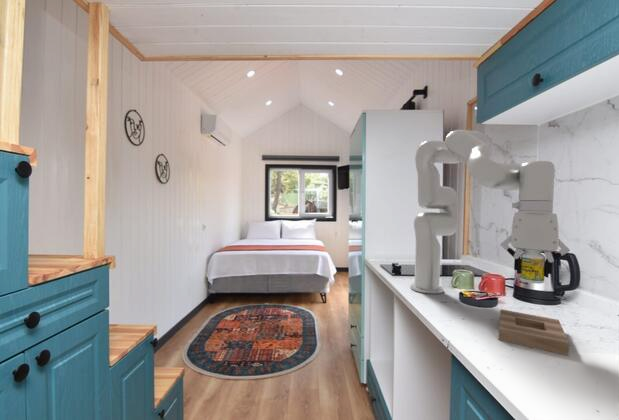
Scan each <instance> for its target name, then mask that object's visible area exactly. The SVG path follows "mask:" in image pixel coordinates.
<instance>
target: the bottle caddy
mask: <svg viewBox="0 0 619 420" xmlns="http://www.w3.org/2000/svg"><path fill="white" fill-rule="evenodd" d="M498 322H499V323H498V340H499V341H502V342H506V341H507V342H508V343H511V342H512V344H515V343H516V345H520V346H524V345H525V346H524V347H528V348H533V347H534V349H537V348H538V350H543V351H547V352H552V353H556V354H560V355H565V356H569V353H570V352H569V351H570V350H569V348H570V342H569V340H568V337H567V336H566V335H567V334H566V332H565V331H564V328H563V327H562V324H561V322H560V320H559V319H556V318H551V317H545V316H540V315H534V314H528V313H525V312H519V311H512V310H507V309H500V313H499V321H498Z"/></svg>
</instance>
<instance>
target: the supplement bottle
mask: <svg viewBox="0 0 619 420" xmlns="http://www.w3.org/2000/svg"><path fill="white" fill-rule="evenodd" d="M523 251H524V252H521V254H520V259H521V269H520V274H519V280H520V281H522V282H525V283H529V284H539V285H540V284H544V283H545V278H546V277H545V261H546V255H545V254H542V252H543V251H536V250H524V249H523Z"/></svg>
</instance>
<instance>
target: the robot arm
mask: <svg viewBox="0 0 619 420" xmlns="http://www.w3.org/2000/svg"><path fill="white" fill-rule="evenodd" d="M492 149H493V148H492V147H491V145H490V144H489V141H488V137H487V135H486V134H484V133H483V132H480V131H477V130H469V129H468V130H467V129H455V130H452V131H450V132H449V133H448V134H447V135H446V136H445V139H444V140H426V141H424V142H422V143H421V144H420V145H419V146H418V148H417V149H416V152H415V155H414V156H415V157H414V159H415V160H414V161H415V167H416V172H417V173H416V175H417V203H418V206H419V207H421V208H422V209H426V210H427V209H428V210H439V212H437V211H435V212H432V211H429V212H428V211H427V212H421V213H419V214H417V215H416V216H415V217H414V220H413V227H414V228H413V229H414V234H415V258H414V259H415V260H414V282H413V283H411V284H410V286H409V288H410V289H411V290H413V291H415V292H418V293H424V294H432V295H434V294H435V295H436V294H437V295H438V294H442V293H443V292H444V288H443V287H442V286H441V285H440V278H441V277H440V276H441V275H440V273H441V249H442V248H441V244H440V241H439V240H438V238H437V237H440V236H441V237H442V236H443V237H445V236H446V237H447V236H452V235H454V234H455V233H456V232H457V230H458V227H459V199H458V198H459V197H458V194H457V191H456V190H455V189H454V188H453V187H452V186H451V187H449V186H443V185H442V186H441V175H440V172H439V169H438V168H437V167H436V165H435V163H436V164H438V163H440V164H448V165H449V164H450V165H453V164H454V165H456V164H459V163H462V162H464V163H465V164H466V167H467V168H466V169H467V172H468V174H469V176H471V178H472V179H474V180H475V181H476V182H478V183H479V184H480V185H482V186H483V187H486V188H488V189H491V190H506V191H518V201H517V202H512V203H511V207H512V209H517V211H516V212H514V215H513V217H512V225H511V234H510V235H509V236H508V237H507V238H506V239H504V240H503V241H502V242H501V243H500V246H501V247H502V249H504V250H505V251H507V253H509V255H511V256H512V258H513V259H514V263H513V265H514V266H513V270H514V271H516V274H517V275H520V269H521V254H522V253H523V251H524V250H536V251H542V252H544V256H545V278H549V275H552V274H553V273H552V271H553V263H554V261H557V260H558V259H560V257H562V256H565V255H566V254H567V253H570V249H569V247H568V246H567V245H565V243H564V242H563V241H561V239H560V238H559V237H560V236H559V221H558V215H557V213H553V211H554V208H553V207H554V192H555V191H554V190H555V187H554V186H555V164H554V163H553V162H552V161H548V160H533V161H532V160H531V161H526V162H523V163H522V164H517V163H516V164H514V163H505V162H504V163H503V162H497V161H494V160H493V159H491V156H492V152H493V150H492ZM509 244H510V245H511V247H510V246H509ZM512 247H513V248H514V249H515V250H514V249H513V248H512ZM559 248H560V249H559ZM558 249H559V250H558ZM557 250H558V251H557ZM552 252H554V253H552Z"/></svg>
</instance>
